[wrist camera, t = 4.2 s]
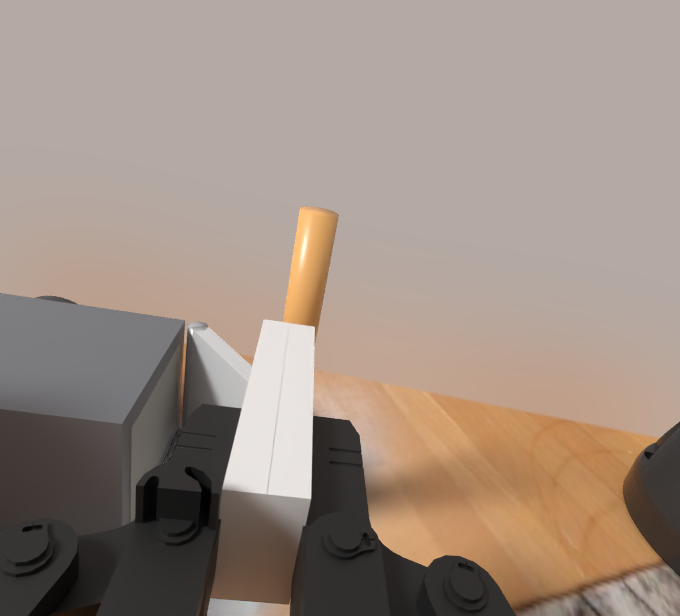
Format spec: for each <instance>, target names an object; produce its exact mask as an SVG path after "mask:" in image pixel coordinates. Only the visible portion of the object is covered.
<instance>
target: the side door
mask: <svg viewBox="0 0 680 616" xmlns="http://www.w3.org/2000/svg"><path fill="white" fill-rule="evenodd" d="M338 216H339V215H338V214H337V213H335V212H333V211H330V210H327V209H322V208H317V207H302V208H300V211H299V218H298V225H297V232H296V238H295V245H294V251H293V258H292V265H291V272H290V278H289V285H288V292H287V298H286V305H285V311H284V318H283V322H285V323H292V324H299V325H306V326H313V327H315V339H314V347H315V341H316V336H317V330H318V325H319V320H320V314H321V309H322V303H323V298H324V293H325V287H326V281H327V276H328V271H329V265H330V259H331V254H332V249H333V244H334V238H335V232H336V227H337V222H338ZM251 369H252V366H251V365H250V364H249V363H248V362H247V361H246V360H244V359H243V358H242V357H241V356H240V355H239V354H238V353H237V352H236V351H234V350H233V349H232V348H231V347H230V346H229V345H228V344H227V343H226V342H224V341H223V340H222V339H221V338H220V337H219V336H218V335H217V334H216V333H214V332H213V331H212V330H211V329H210V328H209V327H208V325H207V324H206V323H203V322H191V323H189V324H188V332H187V348H186V364H185V380H184V396H183V412H182V426H183V427H184V425H185V422H186V420H187V417H188V416H189V415H190V414H191V413H192V412H193V411H194V410H196V409H197V408H198V407H199V406H200V405H201V404H210V405H218V406H226V407H234V408H242V406H243V402H244V398H245V394H246V390H247V386H248V382H249V378H250V373H251Z"/></svg>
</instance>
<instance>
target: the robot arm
mask: <svg viewBox="0 0 680 616" xmlns="http://www.w3.org/2000/svg"><path fill="white" fill-rule="evenodd" d="M314 339H315V327H313V326H306V325H299V324H292V323H285V322H278V321H271V320H265V319H264V321H263V325H262V329H261V333H260V337H259V341H258V345H257V349H256V353H255V357H254V361H253V365H252V369H251V373H250V378H249V382H248V386H247V390H246V394H245V398H244V402H243V406H242V408H234V407H226V406H218V405H210V404H201V405H200V406H199V407H198V408H197V409H196V410H194V411H193V412H192V413H191V414H190V415H189V416H188V417H187V420H186V422H185V425H184V427H183V430H182V433H181V435H180V437H179V439H178V442H177V444H176V448H175V449H174V452H173V454H172V457H171V459H170V462H168V463H165V464H161V465H158V466H156V467H154V468H153V469H151V470H150V471H148V472H147V473H145V474H144V475H143V476H142V478H141V479H140V480H139V482H138V483H137V484H136V504H135V520H134V521H132V522H130V523H128V524H126V525H124V526H122V527H119V528H116V529H112V530H108V531H104V532H98V533H92V534H86V535H80V536H77V535H76V533H75V531H74V530H73V528H72V527H71V526H70V525H68V524H66V523H64V522H63V521H61V520H56V519H48V518H40V519H34V520H28V521H24V522H21V523H19V524H16V525H14V526H11V527H9V528H7V529H5V530H4V531H2V532H1V533H0V616H207V610H208V605H209V601H210V598H216V599H228V600H240V601H253V602H265V603H277V604H289V602H290V598H291V602H290V616H516V615H515V613H514V611H513V610H512V608H511V606H510V605H509V603H508V601H507V600H506V598H505V596H504V595H503V593H502V591H501V589H500V588H499V586H498V585H497V583H496V582H495V581H494V580H493V578H492V577H491V576H490V575H489V573H488V572H487V571H486V570H484V569H483V568H481V567H480V566H479V565H477V564H476V563H475V562H473V561H470V560H468V559H465V558H463V557H460V556H448V555H445V556H443V557H440V558H437V559H434V560H433V562H432V563H431V564H430V565H429V566H428V567H426V566H423V565H421V564H418V563H416V562H413V561H411V560H408V559H406V558H403V557H401V556H400V555H398V554H396V553H394V552H392V551H391V550H390V549H388V548H387V547H386V546H384V545H383V544H382V542H381V541H380V540H379V539H378V536H377V534H376V532H375V531H374V530H373V529H372V528H371V524H370V520H369V514H368V505H367V496H366V488H365V479H364V470H363V462H362V455H361V444H360V436H359V434H358V432H357V431H356V429H355V428H354V426H353V425H352V423H351V422H350V420H342V419H334V418H326V417H318V416H313V386H314ZM623 495H624V500H625V503H626V506H627V509H628V511H629V513H630V515H631V517H632V519H633V521H634V523H635V524H636V526H637V527H638V529H639V530H640V532H641V533H642V535H643V536H644V537H645V539H646V540H647V541H648V542H649V544H650V545H651V546H652V547H653V548H654V550H655V551H656V552H657V553H658V554H659V555H660V556H661V557H662V558H663V559H664V560H665V561H666V563H667V564H668V565H669V566H670V567H671V568H673V569H674V570H675V571H676V572H677V573H678V574H679V575H680V422H679V423H678V424H676V425H675V426H674V427H673V428H671V429H670V430H669V431H668V432H667V433H665V434H664V435H663V436H662V437H661V438H660V439H659V440H658V441H657V442H656V443H653V444H651V445H650V446H648V447H647V448H646V449H644V450H643V451H642V452H641V453H640V454H639V456H638V457H637V458H636V460H635V462H634V464H633V466H632V467H631V469H630V471H629V473H628V475H627V476H626V478H625V481H624V485H623Z"/></svg>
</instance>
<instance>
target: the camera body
mask: <svg viewBox="0 0 680 616" xmlns="http://www.w3.org/2000/svg"><path fill="white" fill-rule="evenodd" d="M184 329H185V321H184V320H179V319H171V318H165V317H159V316H152V315H145V314H138V313H131V312H124V311H118V310H111V309H104V308H97V307H91V306H84V305H78V304H76V303H74V302H72V301H70V300H67V299H64V298H61V297H56V296H41V297H37V298H30V297H22V296H16V295H9V294H1V293H0V533H1V532H2V531H4V530H5V529H7V528H9V527H11V526H14V525H16V524H19V523H21V522H24V521H28V520H34V519H40V518H48V519H56V520H61V521H63V522H64V523H66V524H68V525H70V526H71V527H72V528H73V530H74V531H75V533H76V535H77V536H80V535H86V534H92V533H98V532H104V531H108V530H112V529H116V528H119V527H122V526H124V525H126V524H128V523H130V522H132V521H134V520H135V504H136V484H137V483H138V482H139V480H140V479H141V478H142V476H143V475H144V474H145V473H147V472H148V471H150V470H151V469H153V468H154V467H156V466H158V465H161V464H163V462H164V459H165V457H166V455H167V452H168V450H169V448H170V445H171V443H172V441H173V439H174V436H175V434H176V432H177V429H178V427H179V414H180V397H181V380H182V363H183V347H184Z"/></svg>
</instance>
